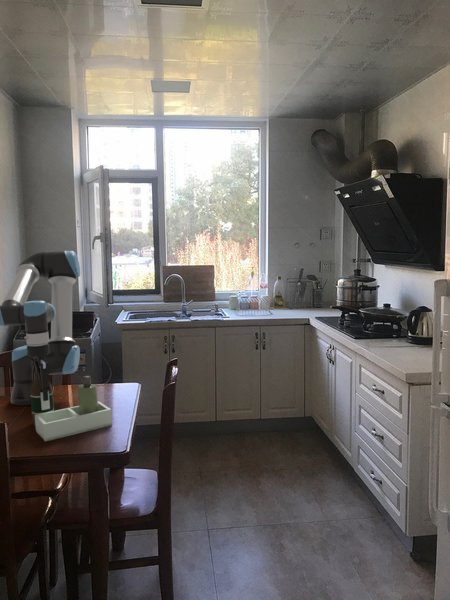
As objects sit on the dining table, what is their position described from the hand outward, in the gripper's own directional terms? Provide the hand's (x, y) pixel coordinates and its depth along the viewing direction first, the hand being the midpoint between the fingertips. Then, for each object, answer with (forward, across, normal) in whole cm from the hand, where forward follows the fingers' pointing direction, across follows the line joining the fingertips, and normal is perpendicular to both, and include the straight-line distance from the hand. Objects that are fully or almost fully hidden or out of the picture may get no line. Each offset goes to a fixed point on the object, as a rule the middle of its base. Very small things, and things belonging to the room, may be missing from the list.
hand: (42, 406), depth 179 cm
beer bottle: (+6, 0, 0) cm, 6 cm away
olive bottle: (+5, +13, +12) cm, 19 cm away
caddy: (+6, +13, +7) cm, 16 cm away
